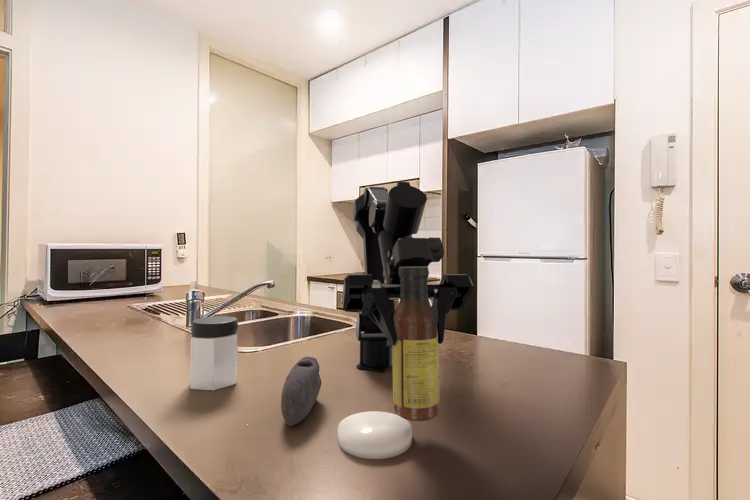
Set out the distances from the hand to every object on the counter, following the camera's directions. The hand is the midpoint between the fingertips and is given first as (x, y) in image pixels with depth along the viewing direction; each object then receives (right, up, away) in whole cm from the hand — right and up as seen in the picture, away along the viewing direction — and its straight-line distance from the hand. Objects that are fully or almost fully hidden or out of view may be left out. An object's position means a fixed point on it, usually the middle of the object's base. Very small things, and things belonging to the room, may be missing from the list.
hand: (417, 343), depth 49 cm
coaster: (-6, -13, +1) cm, 14 cm away
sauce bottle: (0, -10, +1) cm, 10 cm away
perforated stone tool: (-18, -13, +9) cm, 24 cm away
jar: (-36, -13, +22) cm, 44 cm away
